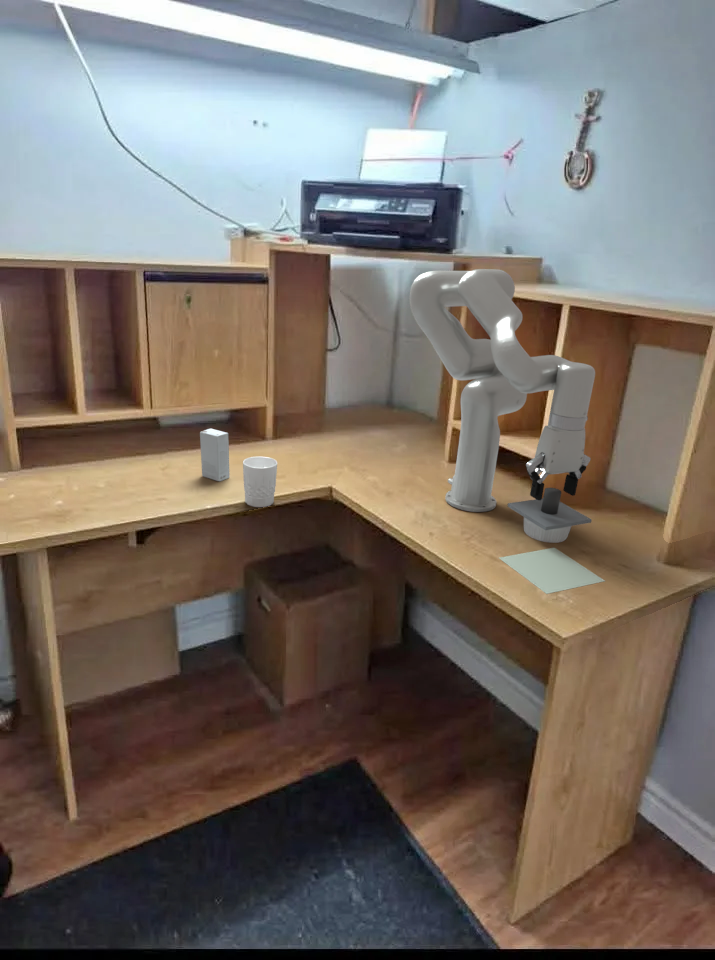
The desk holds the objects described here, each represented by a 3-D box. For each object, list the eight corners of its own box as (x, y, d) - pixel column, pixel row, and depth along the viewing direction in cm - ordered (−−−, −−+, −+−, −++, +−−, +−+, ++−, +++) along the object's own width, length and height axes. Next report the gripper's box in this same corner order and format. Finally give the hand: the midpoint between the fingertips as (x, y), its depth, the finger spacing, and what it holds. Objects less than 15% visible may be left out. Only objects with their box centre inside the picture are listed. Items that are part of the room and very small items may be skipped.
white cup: (266, 511, 153) (266, 470, 149) (236, 504, 155) (236, 463, 152) (282, 499, 160) (283, 460, 156) (253, 492, 162) (253, 454, 159)
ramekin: (531, 547, 145) (535, 525, 144) (512, 524, 156) (516, 504, 154) (578, 546, 147) (583, 525, 145) (557, 524, 158) (561, 504, 156)
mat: (498, 559, 138) (498, 557, 138) (553, 549, 145) (554, 547, 145) (546, 596, 126) (546, 593, 126) (604, 583, 132) (605, 580, 132)
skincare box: (230, 477, 170) (230, 432, 166) (218, 482, 167) (218, 436, 162) (212, 471, 173) (211, 427, 169) (200, 476, 169) (199, 431, 165)
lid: (507, 506, 152) (511, 483, 150) (551, 500, 158) (555, 477, 156) (545, 530, 141) (550, 505, 139) (591, 522, 147) (596, 498, 145)
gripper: (584, 414, 148) (570, 485, 155) (523, 418, 141) (510, 493, 147) (609, 424, 142) (593, 497, 148) (546, 429, 135) (532, 506, 141)
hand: (552, 495), depth 148 cm, fingers open, 9 cm apart
